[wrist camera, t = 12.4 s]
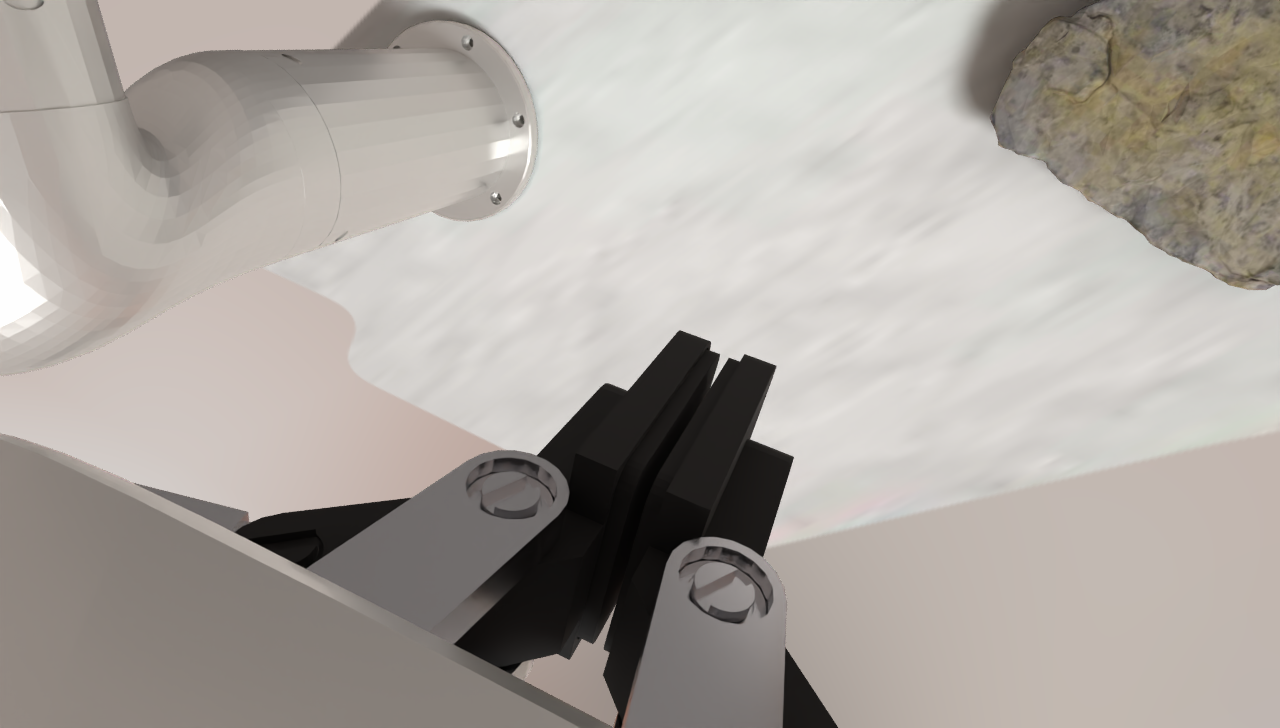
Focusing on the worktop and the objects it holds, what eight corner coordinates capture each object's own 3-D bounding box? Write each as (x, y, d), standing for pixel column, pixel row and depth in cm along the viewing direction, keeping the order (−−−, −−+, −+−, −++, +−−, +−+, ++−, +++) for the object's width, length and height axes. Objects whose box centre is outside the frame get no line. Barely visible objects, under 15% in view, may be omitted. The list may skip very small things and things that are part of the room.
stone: (1418, -263, 25) (1480, -304, 22) (1639, 77, 26) (1726, 81, 23) (959, 90, 34) (960, 94, 32) (1133, 325, 36) (1149, 350, 33)
